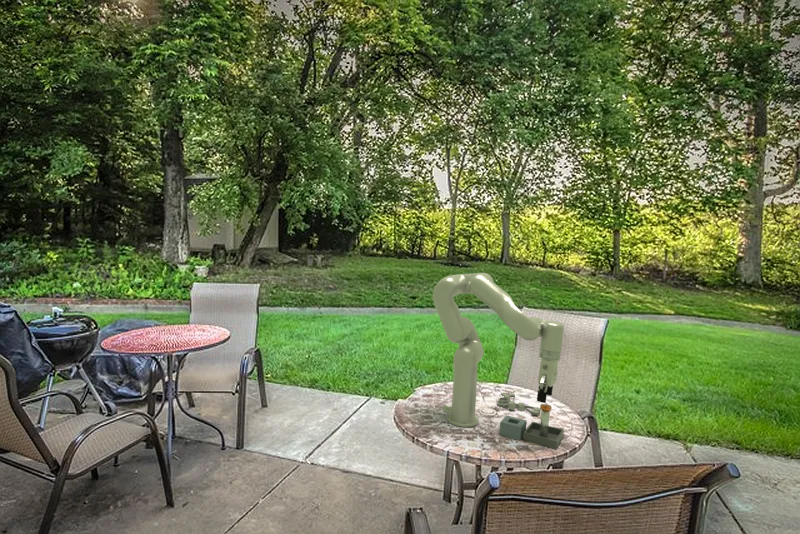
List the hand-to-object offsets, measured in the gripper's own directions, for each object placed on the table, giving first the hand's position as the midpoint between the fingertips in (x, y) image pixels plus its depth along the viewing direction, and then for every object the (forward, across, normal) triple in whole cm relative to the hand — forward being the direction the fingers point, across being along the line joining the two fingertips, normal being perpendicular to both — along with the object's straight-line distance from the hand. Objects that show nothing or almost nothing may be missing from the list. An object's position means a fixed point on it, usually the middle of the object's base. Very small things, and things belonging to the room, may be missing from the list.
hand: (544, 398), depth 175 cm
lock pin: (+15, 0, -1) cm, 15 cm away
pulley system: (+17, +27, +19) cm, 37 cm away
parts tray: (+16, 0, -1) cm, 16 cm away
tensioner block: (+16, -3, +10) cm, 19 cm away
